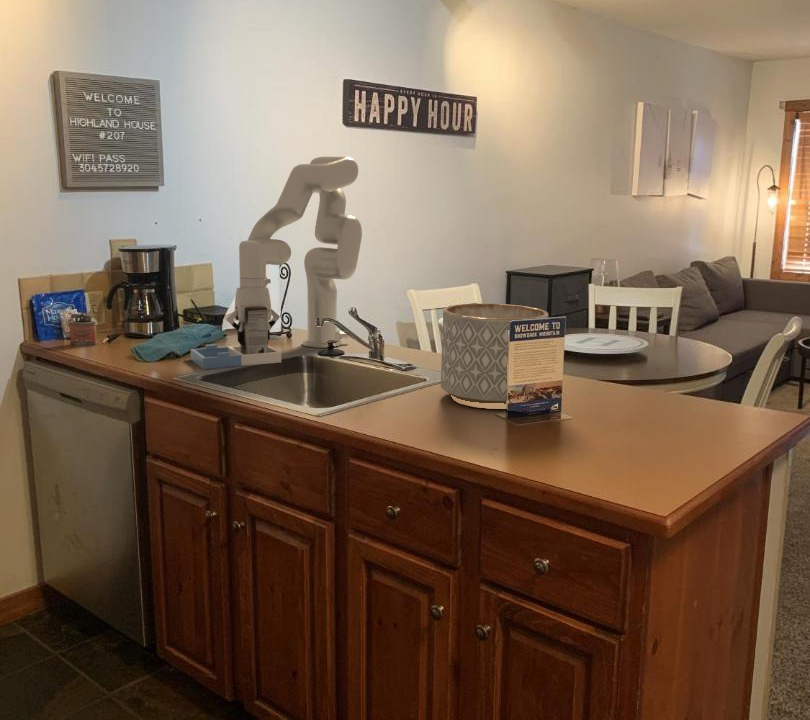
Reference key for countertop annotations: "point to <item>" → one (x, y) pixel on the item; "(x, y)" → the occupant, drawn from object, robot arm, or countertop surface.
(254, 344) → the coffee box
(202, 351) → the blue and white tray
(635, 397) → the countertop surface
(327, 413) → the countertop surface
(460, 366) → the planter
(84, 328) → the lighter
